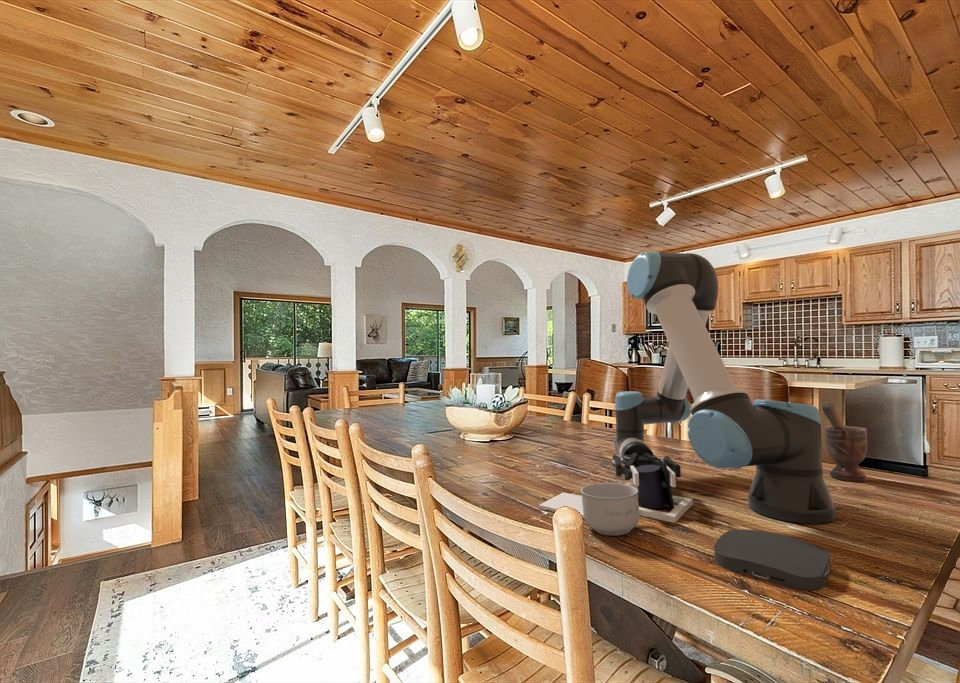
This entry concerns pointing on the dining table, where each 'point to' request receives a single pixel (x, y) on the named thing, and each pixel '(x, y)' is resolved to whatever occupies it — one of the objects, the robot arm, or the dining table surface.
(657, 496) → the speaker
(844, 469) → the mortar and pestle
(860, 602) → the dining table surface
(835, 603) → the dining table surface
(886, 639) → the dining table surface
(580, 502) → the mat
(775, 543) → the media streaming box
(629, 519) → the teacup
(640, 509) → the picture frame
